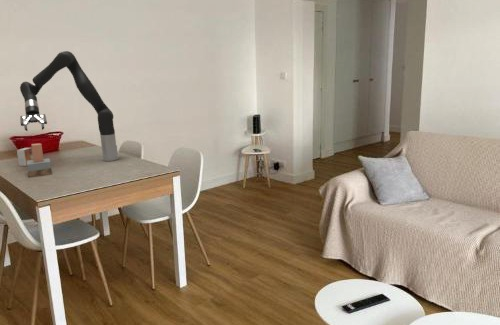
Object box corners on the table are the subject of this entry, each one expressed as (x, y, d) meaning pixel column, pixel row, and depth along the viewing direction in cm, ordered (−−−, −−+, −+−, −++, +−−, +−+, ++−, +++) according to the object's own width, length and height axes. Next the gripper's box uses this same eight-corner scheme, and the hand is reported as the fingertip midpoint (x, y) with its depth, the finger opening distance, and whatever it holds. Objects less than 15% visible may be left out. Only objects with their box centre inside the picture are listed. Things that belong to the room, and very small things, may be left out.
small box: (26, 166, 271) (23, 150, 269) (18, 165, 272) (16, 149, 270) (35, 163, 279) (32, 147, 277) (27, 163, 280) (25, 147, 278)
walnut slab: (51, 170, 258) (50, 164, 257) (51, 175, 248) (50, 168, 247) (29, 173, 253) (28, 167, 252) (29, 178, 243) (28, 171, 242)
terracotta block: (42, 159, 252) (40, 143, 250) (43, 161, 248) (41, 144, 246) (33, 160, 250) (31, 144, 248) (34, 162, 246) (31, 145, 243)
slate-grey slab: (49, 164, 257) (48, 158, 257) (51, 168, 247) (50, 161, 246) (27, 167, 252) (26, 160, 251) (28, 171, 242) (27, 164, 241)
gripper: (18, 105, 254) (20, 126, 247) (44, 103, 260) (47, 124, 253) (19, 113, 260) (22, 134, 253) (45, 111, 266) (48, 132, 259)
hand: (34, 129), depth 253 cm, fingers open, 8 cm apart
